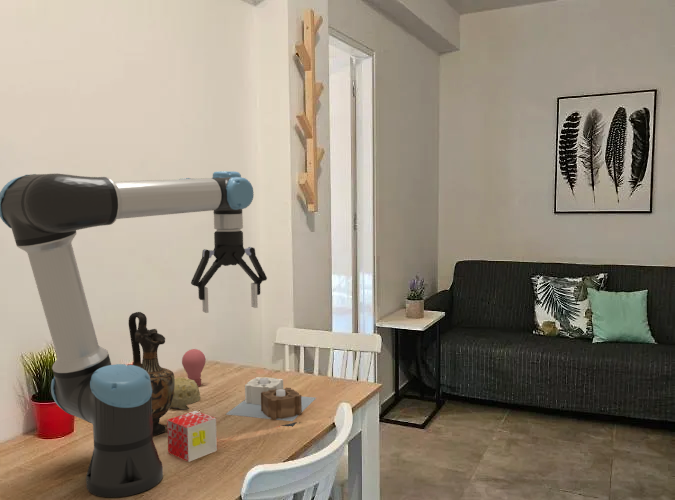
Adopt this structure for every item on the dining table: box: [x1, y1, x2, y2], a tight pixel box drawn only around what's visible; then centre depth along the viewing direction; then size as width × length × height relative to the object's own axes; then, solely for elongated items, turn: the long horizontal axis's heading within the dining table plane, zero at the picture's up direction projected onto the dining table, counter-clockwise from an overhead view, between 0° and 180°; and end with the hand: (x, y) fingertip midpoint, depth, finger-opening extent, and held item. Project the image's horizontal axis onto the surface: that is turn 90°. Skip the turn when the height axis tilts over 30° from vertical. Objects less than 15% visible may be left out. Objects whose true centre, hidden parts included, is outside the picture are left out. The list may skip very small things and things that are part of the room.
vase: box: [128, 311, 176, 436], centre depth 156 cm, size 12×12×30 cm
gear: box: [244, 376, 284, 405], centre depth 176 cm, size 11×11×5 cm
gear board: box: [225, 377, 317, 428], centre depth 170 cm, size 19×19×8 cm
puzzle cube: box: [166, 410, 218, 463], centre depth 144 cm, size 8×8×8 cm
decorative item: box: [169, 376, 201, 410], centre depth 176 cm, size 10×10×10 cm
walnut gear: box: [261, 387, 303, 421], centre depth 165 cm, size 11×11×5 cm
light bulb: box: [181, 348, 207, 387], centre depth 192 cm, size 7×7×12 cm
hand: (230, 309), depth 166 cm, fingers open, 13 cm apart
